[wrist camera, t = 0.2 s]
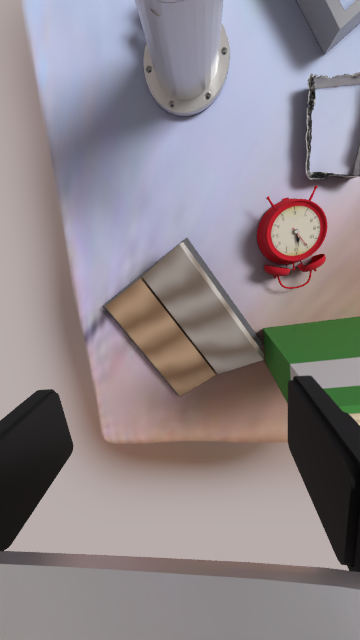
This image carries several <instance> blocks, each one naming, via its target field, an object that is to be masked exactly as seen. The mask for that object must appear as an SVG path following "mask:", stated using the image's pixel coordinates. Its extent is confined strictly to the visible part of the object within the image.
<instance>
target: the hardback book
mask: <svg viewBox="0 0 360 640" xmlns="http://www.w3.org/2000/svg"><path fill="white" fill-rule="evenodd" d="M263 337H264V350H265V363H266V365H267V367H268V368H269V370H270V372H271V374H272V376H273V377H274V379H275V381H276V383H277V385H278V387H279V388H280V390H281V392H282V394H283V396H284V398H285V399H286V401H287V403H288V381H289V380H293V377H294V376H307V375H310V376H312V377H313V378H314V379H315V380H316V381H317V383H318V384H319V385H320V386H321V387H322V388H323V389H324V391H325V392H326V393H327V394H328V395H329V396H330V397H331V399H332V400H333V401H334V402H335V403H336V404H337V405H338V407H339V408H340V409H341V410H342V411H343V412H347V413H348V414H349V415H350V416H351V417H352V418H353V419H354V420H355V421H356V422H357V423H358V424H359V425H360V317H352V318H344V319H336V320H327V321H319V322H311V323H303V324H294V325H286V326H278V327H270V328H263Z"/></svg>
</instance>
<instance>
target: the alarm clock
mask: <svg viewBox="0 0 360 640" xmlns="http://www.w3.org/2000/svg"><path fill="white" fill-rule="evenodd" d="M317 187H318V186H315V187H314V190H313V193H312V194H311V196H310V198H309V200H306V199H289V198H284V199H283V201H281V202H279V203H277V204H275V205H273V203H272V202H271V201H270V199H269V196H268V197H267V198H266V199H268V200H269V202H270V204H271V206H272V207H271V208H270V209H269V210H268V211H267V212H266V213H265V214H264V216H263V217H262V219H261V221H260V223H259V226H258V230H257V242H258V246H259V248H260V250H261V252H262V253H263V255H264V256H265V257H266V258H268V259H269V260H271V261H272V262H275V263H279V264H292V263H293V269H292V270H296V268H295V267H294V263H296V262H299V261H300V262H301V260H303V259H305V258H307V257H309V256H311V255H312V254H313V253H314V252H315V251H316V250H318V248H319V247H320V246H321V244H322V243H323V241H324V239H325V236H326V232H327V219H326V216H325V214H324V212H323V210H322V209H321V208H320V207H319V206H318V205H317V204H316V203H314V202H312V201H311V199H312V197H313V194H314V192H315V190H316V188H317ZM311 258H312V262H311V263H310V264H309V265H307V266H303V264H302V262H301V264H302V265H301V264H299V265H298V268H299V270H300V271H302V272H307V271H310V275H309V279H308V281H307V282H306V283H305V284H303V285H301V286H297V287H285V286H284V285H282V283H281V281H280V279H279V276H285V275H288V274H289V272H290V269H287V268H282V267H280V268H278V267H272V266H268V265H265V266H264V270H265V272H267V273H269V274H272V275H274V279H275V278H276V276H277V277H278V281H279V283H280V285H281V286H282V287H284V288H287V289H293V288H299V287H302V286H304V285H306V284H307V283H308V282H309V281H310V278H311V272H312V270H314V271H316V268H318V267H319V266H321V265H322V264H323V263H324V262H325V260H326V258H325V255H324V254H319V255H316V256H313V257H311ZM286 267H287V265H286Z"/></svg>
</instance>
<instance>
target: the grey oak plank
mask: <svg viewBox="0 0 360 640" xmlns="http://www.w3.org/2000/svg"><path fill="white" fill-rule="evenodd" d="M142 277H143V278H144V280H145V281H146V282H147V284H148V285H149V286H150V287H151V289H152V290H153V291H154V292H155V294H156V295H157V296H158V298H159V299H160V300H161V301H162V303H163V304H164V305H165V307H166V308H167V309H168V310H169V312H170V313H171V314H172V316H173V317H174V318H175V319H176V321H177V322H178V323H179V325H180V326H181V327H182V328H183V330H184V331H185V332H186V334H187V335H188V336H189V337H190V339H191V340H192V341H193V342H194V344H195V345H196V346H197V348H198V349H199V350H200V351H201V353H202V354H203V355H204V357H205V358H206V359H207V360H208V362H209V363H210V364H211V366H212V367H213V368H214V369H215V371H216V372H217V373H218V374H220V373H224V372H227V371H230V370H233V369H236V368H240V367H243V366H246V365H249V364H252V363H256V362H259V361H262V360H263V359H264V353H263V352H262V351H261V349H260V348H259V346H258V345H257V344H256V342H255V341H254V339H253V338H252V337H251V335H250V334H249V333H248V331H247V330H246V328H245V327H244V326H243V324H242V323H241V321H240V320H239V319H238V317H237V316H236V315H235V313H234V312H233V310H232V309H231V308H230V306H229V305H228V303H227V302H226V301H225V299H224V298H223V297H222V295H221V294H220V292H219V291H218V290H217V288H216V287H215V285H214V284H213V283H212V281H211V280H210V279H209V277H208V276H207V274H206V273H205V272H204V270H203V269H202V267H201V266H200V265H199V263H198V262H197V260H196V259H195V258H194V256H193V255H192V254H191V252H190V251H189V249H188V248H187V247H186V245H185V244H184V242H182V243H180V244H179V245H178V246H176V247H175V248H174V249H173V250H172V251H171V252H170V253H168V254H167V255H166V256H165V257H164V258H163V259H162V260H161V261H159V262H158V263H157V264H156V265H155V266H154V267H153V268H151V269H150V270H149V271H148V272H147V273H146V274H145V275H144V276H142Z"/></svg>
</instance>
